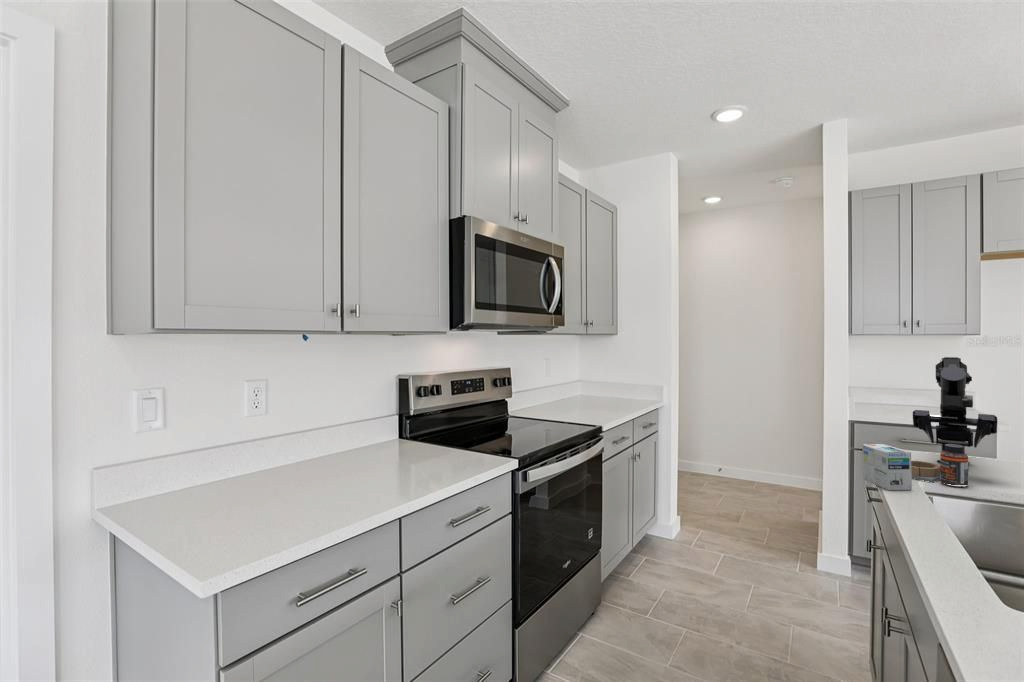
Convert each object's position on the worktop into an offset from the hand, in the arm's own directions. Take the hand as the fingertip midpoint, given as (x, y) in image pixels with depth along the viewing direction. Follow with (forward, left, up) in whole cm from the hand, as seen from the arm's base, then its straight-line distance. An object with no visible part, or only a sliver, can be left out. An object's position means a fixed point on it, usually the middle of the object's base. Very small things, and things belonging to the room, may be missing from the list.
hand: (953, 444), depth 144 cm
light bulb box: (+19, -9, -11) cm, 23 cm away
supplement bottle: (+4, +1, -11) cm, 12 cm away
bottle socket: (+2, -8, -11) cm, 13 cm away
